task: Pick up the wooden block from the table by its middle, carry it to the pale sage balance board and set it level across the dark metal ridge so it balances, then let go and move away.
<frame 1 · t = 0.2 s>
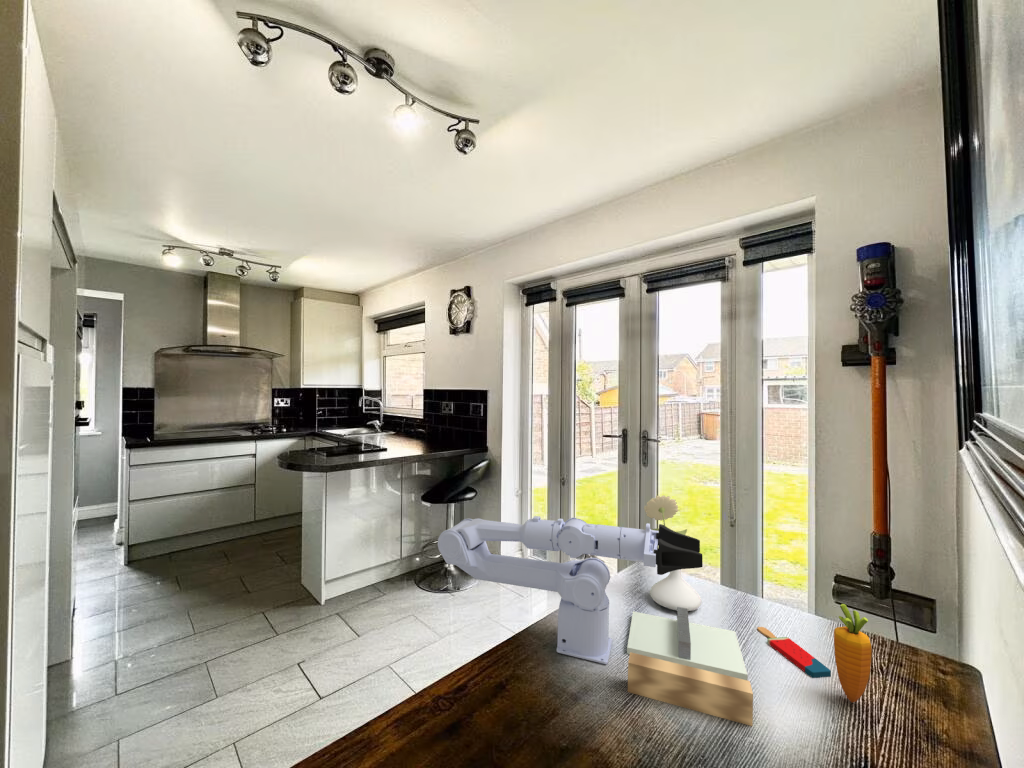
hand: (701, 552, 74), 21 cm above the table, tool horizontal, fingers open, 7 cm apart
wooden block: (686, 703, 67), on the table
flower in vase: (671, 603, 98), on the table
carrot: (851, 703, 68), on the table
balance stand: (683, 645, 82), on the table
popsicle: (788, 654, 81), on the table
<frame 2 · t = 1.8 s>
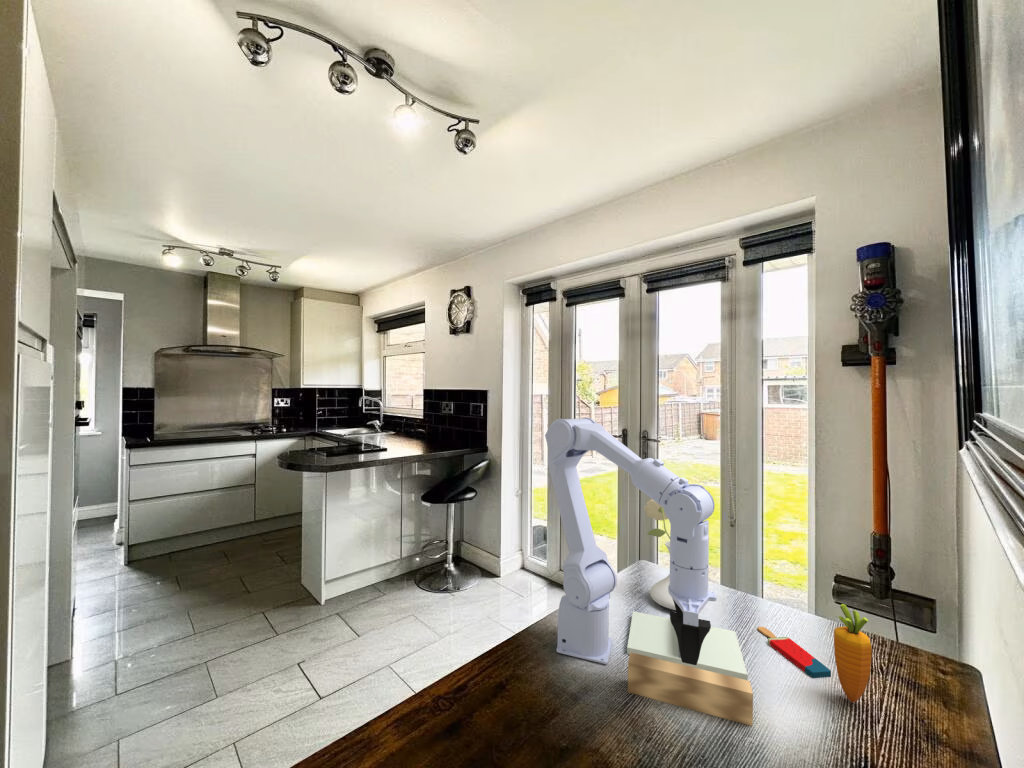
hand: (687, 648, 67), 8 cm above the table, tool pointing down, fingers open, 7 cm apart
nothing on the table moved.
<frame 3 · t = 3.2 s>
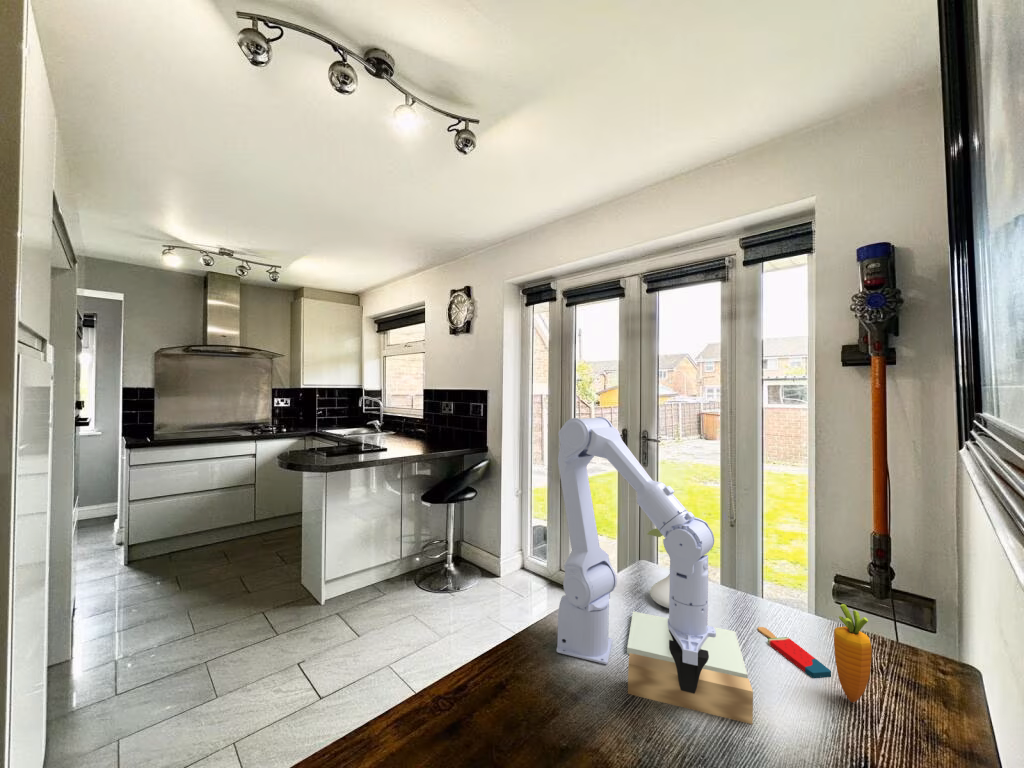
hand: (687, 683, 67), 3 cm above the table, tool pointing down, fingers closed on wooden block, 3 cm apart
wooden block: (686, 702, 67), on the table, touching gripper
everything else where it was.
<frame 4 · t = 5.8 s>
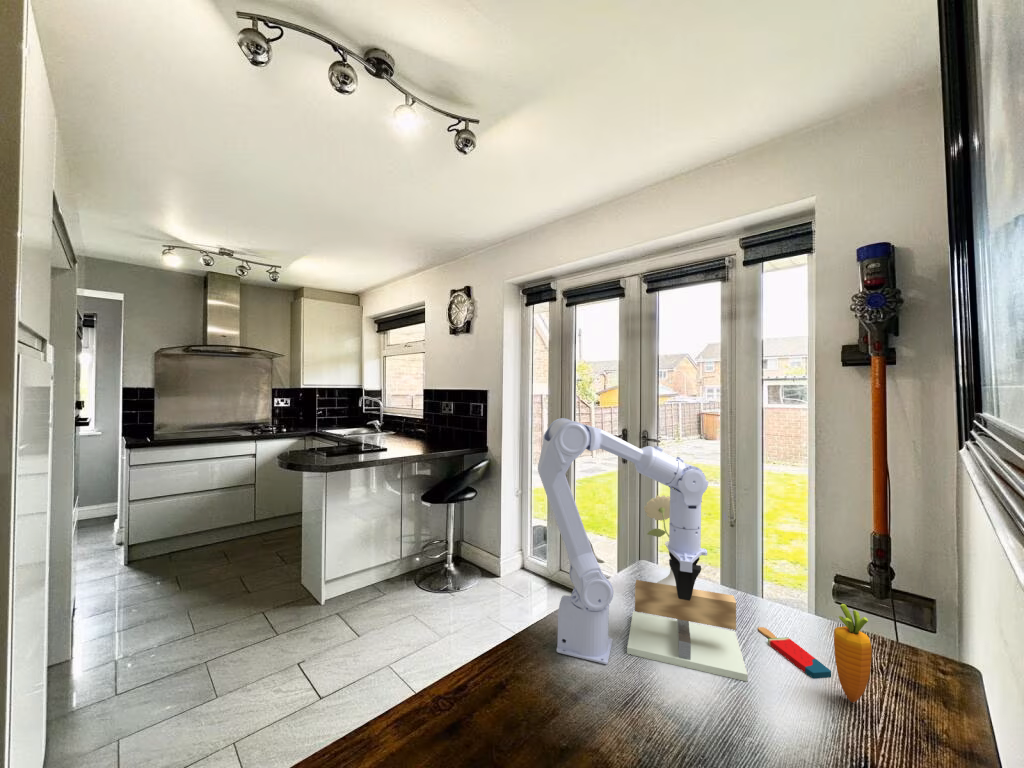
hand: (683, 594, 82), 10 cm above the table, tool pointing down, fingers closed on wooden block, 3 cm apart
wooden block: (683, 616, 82), point 6 cm above the table, touching gripper
everything else where it was.
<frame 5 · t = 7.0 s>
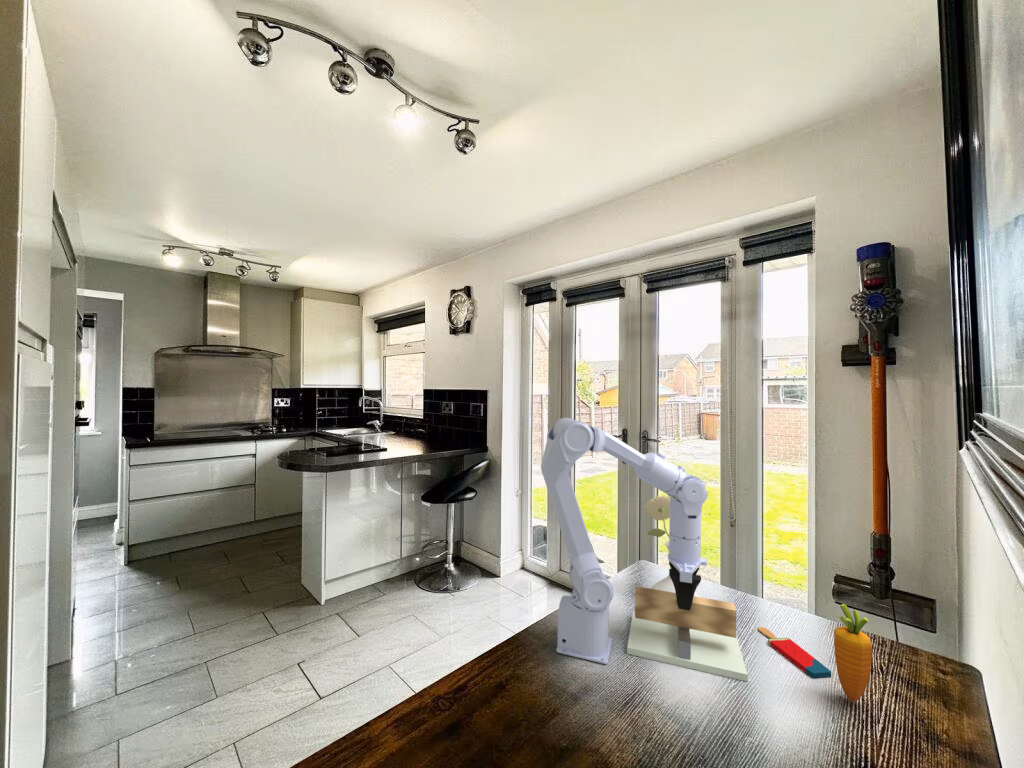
hand: (683, 604, 82), 8 cm above the table, tool pointing down, fingers closed on wooden block, 3 cm apart
wooden block: (683, 623, 82), point 4 cm above the table, touching balance stand, gripper
everything else where it was.
when the fingers open (8 cm above the table, at t = 7.4 s): wooden block stays where it is, resting on balance stand.
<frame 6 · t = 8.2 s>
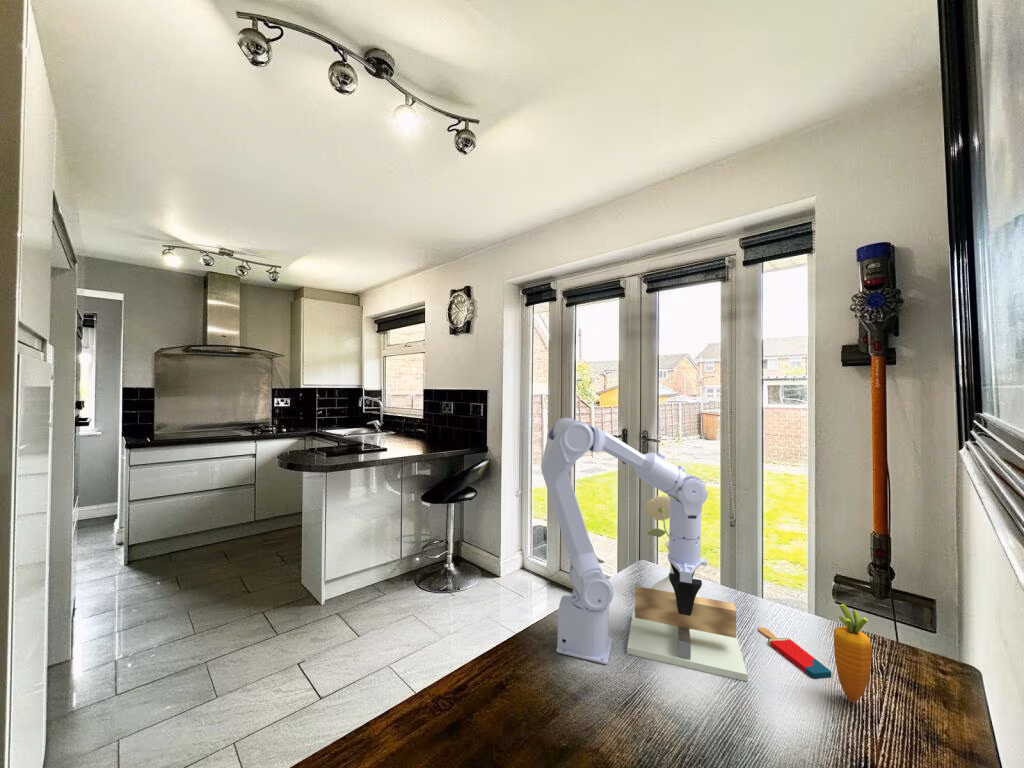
hand: (683, 604, 82), 8 cm above the table, tool pointing down, fingers open, 7 cm apart
wooden block: (683, 623, 82), point 4 cm above the table, touching balance stand
everything else where it was.
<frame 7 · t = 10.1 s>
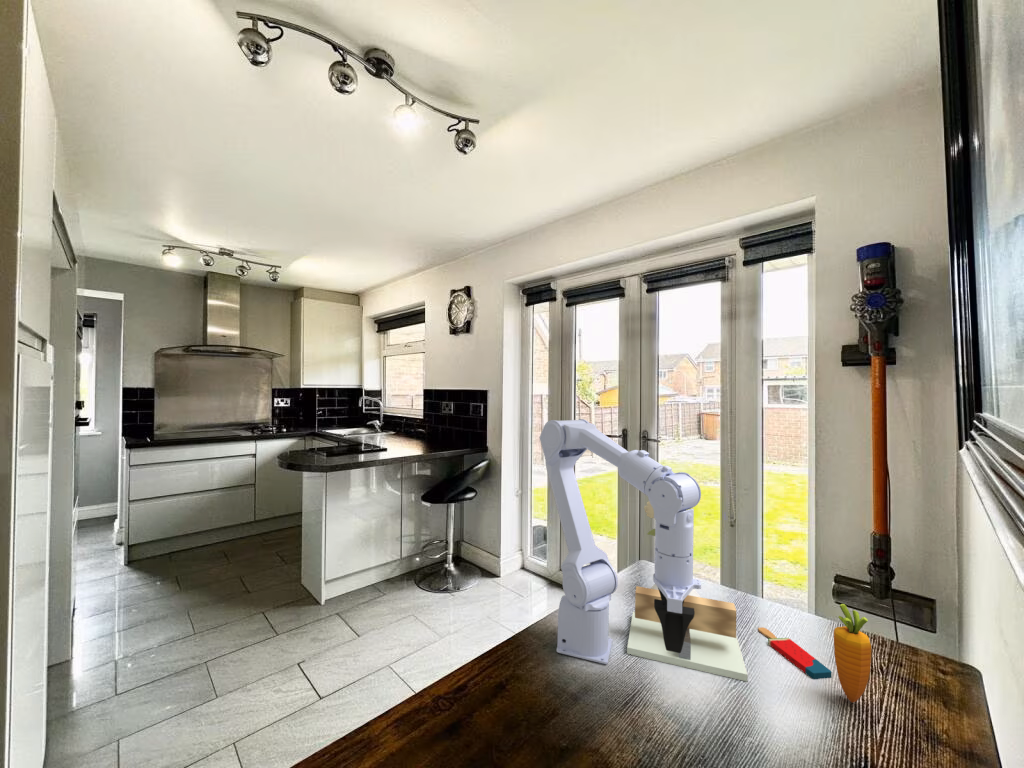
hand: (672, 636, 67), 10 cm above the table, tool pointing down, fingers open, 7 cm apart
nothing on the table moved.
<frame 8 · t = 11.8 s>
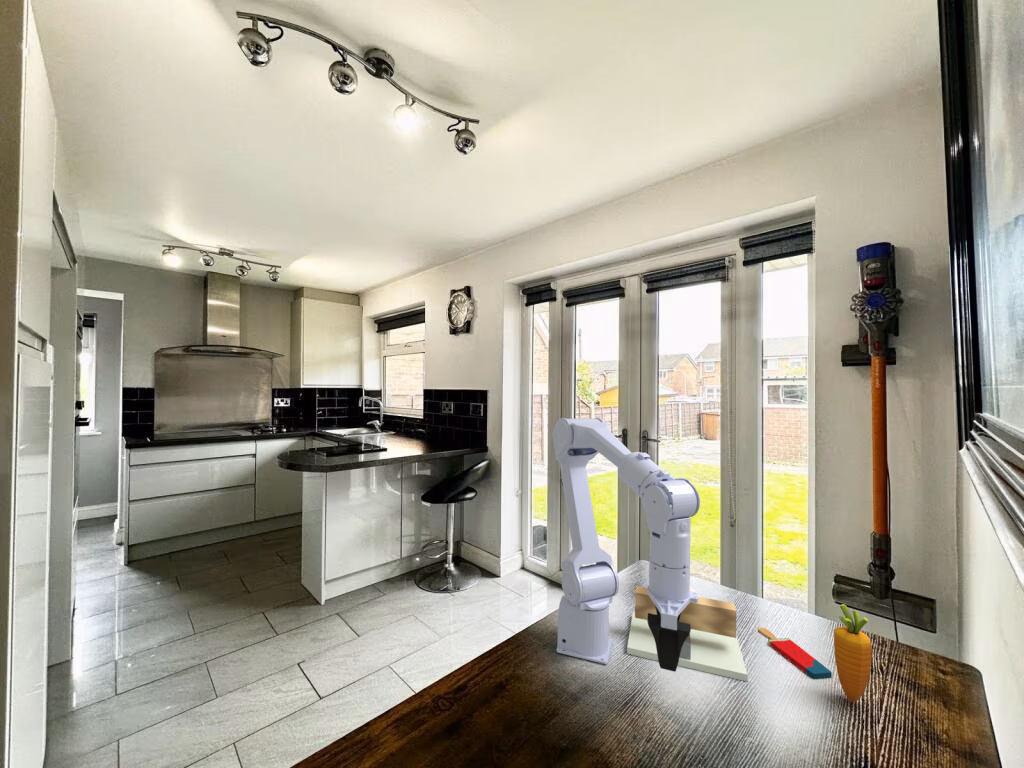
hand: (667, 652, 62), 10 cm above the table, tool pointing down, fingers open, 7 cm apart
nothing on the table moved.
at the end: wooden block 0.0 cm off-centre on the balance stand, point 4.2 cm above the balance stand's base; wooden block tilted 0°; the gripper is holding nothing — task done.
